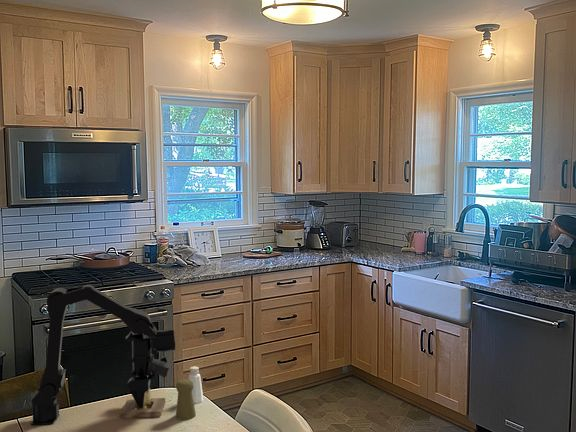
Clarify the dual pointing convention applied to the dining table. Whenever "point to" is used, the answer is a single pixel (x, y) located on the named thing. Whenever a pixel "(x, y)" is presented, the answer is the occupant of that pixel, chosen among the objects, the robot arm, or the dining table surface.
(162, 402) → the socket board
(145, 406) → the brass pin
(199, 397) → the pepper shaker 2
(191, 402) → the pepper shaker
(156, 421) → the dining table surface
